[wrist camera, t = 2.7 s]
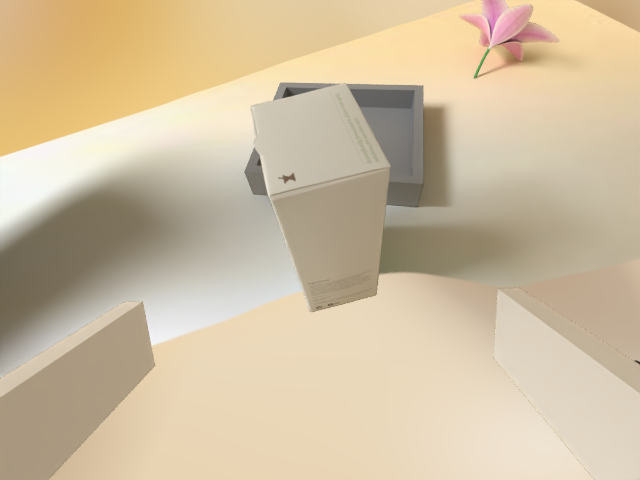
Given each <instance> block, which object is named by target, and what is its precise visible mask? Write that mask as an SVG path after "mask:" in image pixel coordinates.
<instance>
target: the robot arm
mask: <svg viewBox="0 0 640 480" xmlns="http://www.w3.org/2000/svg"><path fill="white" fill-rule="evenodd" d="M493 358H494V359H495V361H496V362H497V363H498V364H499V365H500V367H501V368H502V369H503V370H504V372H505V373H506V374H507V375H508V376H509V378H510V379H511V380H512V381H513V382H514V383H515V385H516V386H517V387H518V388H519V390H520V391H521V392H522V393H523V394H524V396H525V397H526V398H527V399H528V401H529V402H530V403H531V404H532V405H533V407H534V408H535V409H536V410H537V411H538V413H539V414H540V415H541V416H542V417H543V419H544V420H545V421H546V422H547V423H548V425H549V426H550V427H551V428H552V429H553V431H554V432H555V433H556V434H557V436H558V437H559V438H560V439H561V440H562V442H563V443H564V444H565V445H566V446H567V448H568V449H569V450H570V451H571V452H572V454H573V455H574V456H575V457H576V458H577V460H578V461H579V462H580V463H581V464H582V466H583V467H584V468H585V469H586V470H587V472H588V473H589V474H590V475H591V477H592V478H593V479H594V480H640V362H639V361H633V360H632V359H630V358H628V357H627V356H625V355H624V354H622V353H621V352H619V351H618V350H616V349H614V348H613V347H611V346H610V345H608V344H607V343H605V342H604V341H602V340H601V339H599V338H597V337H595V336H594V335H593V334H591V333H590V332H588V331H587V330H585V329H583V328H582V327H580V326H579V325H577V324H576V323H574V322H573V321H571V320H569V319H568V318H566V317H565V316H563V315H562V314H560V313H559V312H557V311H555V310H554V309H552V308H551V307H549V306H548V305H546V304H545V303H543V302H542V301H540V300H538V299H537V298H535V297H534V296H532V295H531V294H529V293H528V292H526V291H524V290H523V289H521V288H499V289H498V292H497V308H496V325H495V343H494V357H493ZM154 366H155V363H154V358H153V353H152V347H151V342H150V337H149V332H148V326H147V321H146V316H145V311H144V306H143V302H123V303H121V304H120V305H118V306H117V307H115V308H113V309H112V310H110V311H108V312H107V313H105V314H104V315H102V316H100V317H99V318H97V319H96V320H94V321H92V322H91V323H89V324H87V325H86V326H84V327H83V328H81V329H79V330H78V331H76V332H74V333H73V334H71V335H70V336H68V337H66V338H65V339H63V340H61V341H60V342H58V343H57V344H55V345H53V346H52V347H50V348H48V349H47V350H45V351H44V352H42V353H40V354H39V355H37V356H35V357H34V358H32V359H31V360H29V361H27V362H26V363H24V364H23V365H21V366H19V367H18V368H16V369H14V370H13V371H11V372H10V373H8V374H6V375H5V376H3V377H1V378H0V480H49V479H50V478H51V477H52V476H53V475H54V474H55V472H56V471H57V470H58V469H59V468H60V467H61V466H62V465H63V464H64V463H65V462H66V461H67V460H68V458H69V457H70V456H71V455H72V454H73V453H74V452H75V451H76V450H77V449H78V448H79V447H80V446H81V444H82V443H83V442H84V441H85V440H86V439H87V438H88V437H89V436H90V435H91V434H92V433H93V432H94V431H95V430H96V429H97V427H98V426H99V425H100V424H101V423H102V422H103V421H104V420H105V419H106V418H107V417H108V416H109V415H110V414H111V412H112V411H113V410H114V409H115V408H116V407H117V406H118V405H119V404H120V403H121V402H122V401H123V400H124V399H125V397H126V396H127V395H128V394H129V393H130V392H131V391H132V390H133V389H134V388H135V387H136V386H137V385H138V384H139V382H140V381H141V380H142V379H143V378H144V377H145V376H146V375H147V374H148V373H149V372H150V371H151V370H152V368H153V367H154Z"/></svg>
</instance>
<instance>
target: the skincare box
mask: <svg viewBox="0 0 640 480" xmlns="http://www.w3.org/2000/svg"><path fill="white" fill-rule="evenodd" d="M251 112H252V117H253V123H254V129H255V135H256V138H255V142H254V145H255V149H256V151H257V152H258V153H259V155H260V160H261V165H262V170H263V175H264V179H265V184H266V189H267V193H268V196H269V198H270V201H271V204H272V206H273V209H274V212H275V215H276V217H277V220H278V223H279V226H280V229H281V232H282V234H283V237H284V240H285V243H286V245H287V248H288V251H289V254H290V257H291V259H292V262H293V265H294V268H295V271H296V274H297V276H298V279H299V282H300V285H301V287H302V290H303V293H304V296H305V299H306V302H307V305H308V308H309V311H310V312H315V311H318V310H322V309H326V308H329V307H334V306H337V305H341V304H345V303H349V302H353V301H356V300H360V299H364V298H367V297H371V296H375V295H376V294H377V285H378V276H379V266H380V257H381V247H382V238H383V228H384V219H385V210H386V201H387V190H388V183H389V174H390V168H391V166H390V164H389V162H388V160H387V158H386V157H385V155H384V153H383V151H382V149H381V147H380V145H379V144H378V142H377V140H376V138H375V136H374V134H373V132H372V130H371V128H370V127H369V125H368V123H367V121H366V119H365V117H364V115H363V113H362V111H361V109H360V108H359V106H358V104H357V102H356V100H355V98H354V97H353V95H352V93H351V91H350V90H349V88H348V86H347V84H345V83H344V84H339V85H334V86H330V87H326V88H321V89H318V90H314V91H310V92H306V93H302V94H299V95H295V96H291V97H287V98H282V99H278V100H274V101H269V102H265V103H261V104H256V105H252V106H251Z"/></svg>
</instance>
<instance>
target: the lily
mask: <svg viewBox="0 0 640 480" xmlns="http://www.w3.org/2000/svg"><path fill="white" fill-rule="evenodd" d="M481 7H482V15H481V14H476V13H472V14H463V15H460V16H459V17H460V18H461V19H463V20H465V21H467V22H468V23H470V24H472V25H474V26H475V27H477V28H479V29H480V30H481V34H480V40H479V44H480V45H481V46H489V45H490V46H489V48H488V49H487V51H486V53H485V55H484V57H483V58H482V60H481V62H480V65H479V67H478V69H477V71H476V74H475V76H474V78H476V77H477V74H478V72H479V70H480V68H481V65H482V63H483V61H484V59H485V57H486V55H487V54H488V52H489V51H490V49H491V48H492V47H493V46H496V45H502V46H503V47H505V48H506V49H507V50H508V51H509V52H510V53H511V54H512V55H513V56H514V57H515V58H516V59H518V60H519V61H522V59H523V45H522V44H521V43H528V42H559V39H558V38H557V37H556V36H555V35H554V34H553V33H552V32H550V31H549V30H547V29H546V28H544V27H542V26H540V25H538V24H536V23H531V22H528V21H529V19H530V17H531V15H532V11H533V6H532V5H530V4H525V5H519V6H516V7H512V8H510V9H509V7H508V5H507V3H506V1H505V0H481Z"/></svg>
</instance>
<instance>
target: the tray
mask: <svg viewBox="0 0 640 480" xmlns="http://www.w3.org/2000/svg"><path fill="white" fill-rule="evenodd" d="M334 85H339V84H323V83H280V85H279V87H278V90H277V92H276V95H275V97H274V100H278V99H282V98H287V97H291V96H295V95H299V94H302V93H306V92H310V91H314V90H318V89H321V88H326V87H330V86H334ZM347 86H348V88H349V90H350V91H351V93H352V95H353V97H354V98H355V100H356V102H357V104H358V106H359V108H360V109H361V111H362V113H363V115H364V117H365V119H366V121H367V123H368V125H369V127H370V128H371V130H372V132H373V134H374V136H375V138H376V140H377V142H378V144H379V145H380V147H381V149H382V151H383V153H384V155H385V157H386V158H387V160H388V162H389V164H390V166H391V168H390V174H389V183H388V190H387V201H386V205H398V206H410V207H417V206H418V202H419V199H420V195H421V191H422V188H423V184H424V157H423V86H417V85H370V84H347ZM274 100H273V101H274ZM245 174H246V177H247V179H248V182H249V184H250V187H251V190H252V192H253V194H260V195H268V193H267V189H266V184H265V179H264V175H263V170H262V165H261V160H260V155H259V153H258V152H257V151H256V149H255V147H254V149H253V152H252V154H251V157H250V159H249V162H248V164H247V167H246V169H245Z"/></svg>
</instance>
